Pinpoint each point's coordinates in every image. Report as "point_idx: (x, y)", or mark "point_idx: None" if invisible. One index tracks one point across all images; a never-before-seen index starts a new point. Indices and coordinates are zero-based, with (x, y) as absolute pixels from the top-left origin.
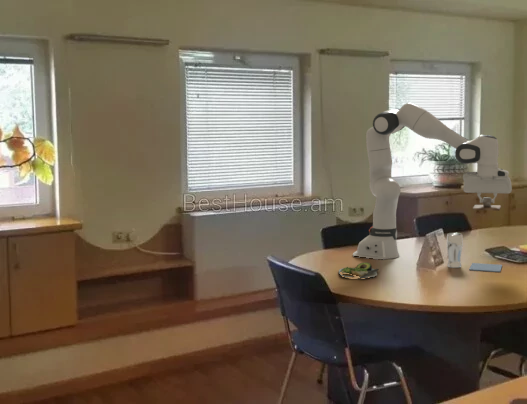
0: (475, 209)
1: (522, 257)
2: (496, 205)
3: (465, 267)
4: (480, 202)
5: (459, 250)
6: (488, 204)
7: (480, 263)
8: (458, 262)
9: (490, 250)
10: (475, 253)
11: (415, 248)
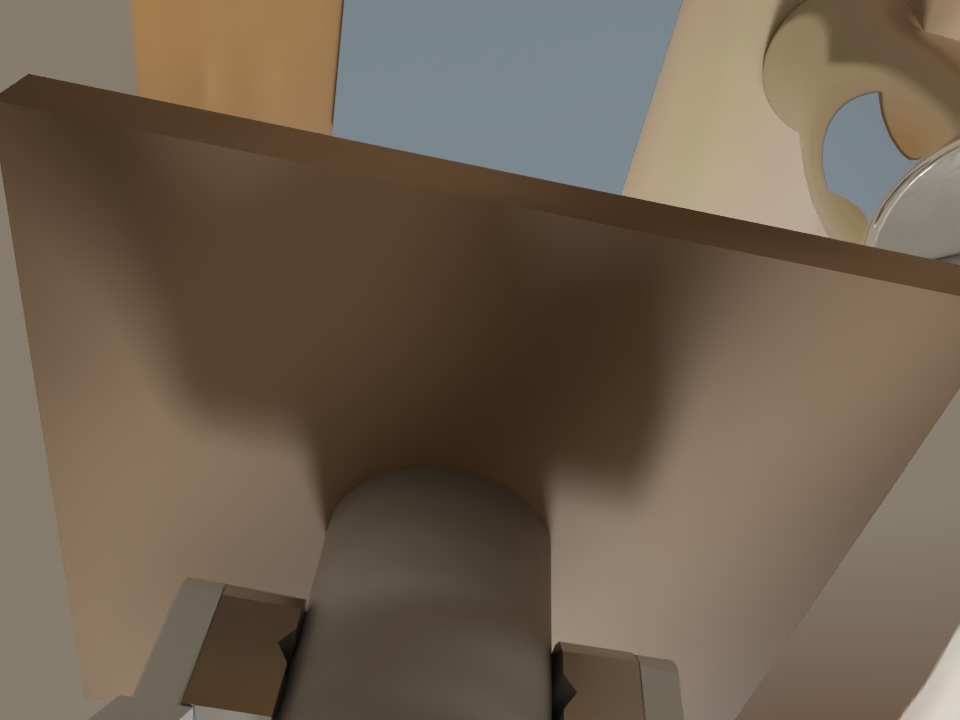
0: (894, 258)
1: None
2: None
3: (725, 30)
4: (651, 664)
5: (867, 57)
6: (388, 537)
7: None
8: (828, 21)
9: None
10: None
11: (946, 664)
